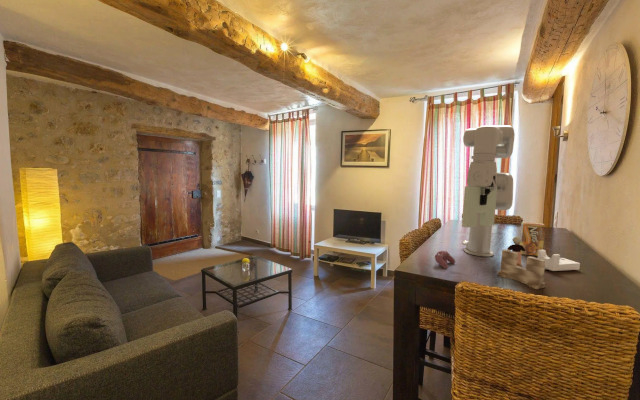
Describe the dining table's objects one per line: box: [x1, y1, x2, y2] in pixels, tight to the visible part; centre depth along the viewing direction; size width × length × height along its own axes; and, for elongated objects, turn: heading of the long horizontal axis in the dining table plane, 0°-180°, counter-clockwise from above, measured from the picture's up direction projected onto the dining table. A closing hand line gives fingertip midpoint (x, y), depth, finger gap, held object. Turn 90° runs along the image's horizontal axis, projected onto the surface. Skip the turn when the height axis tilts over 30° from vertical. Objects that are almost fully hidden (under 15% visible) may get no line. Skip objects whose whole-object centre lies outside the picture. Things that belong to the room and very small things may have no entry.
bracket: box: [537, 249, 581, 272], centre depth 120 cm, size 13×7×8 cm, turn 100°
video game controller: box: [434, 250, 456, 269], centre depth 124 cm, size 10×5×7 cm, turn 135°
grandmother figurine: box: [506, 235, 527, 267], centre depth 124 cm, size 8×4×13 cm, turn 86°
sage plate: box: [461, 185, 497, 228], centre depth 116 cm, size 2×16×16 cm, turn 113°
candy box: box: [519, 221, 546, 257], centre depth 139 cm, size 9×4×15 cm, turn 68°
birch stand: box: [497, 249, 546, 290], centre depth 107 cm, size 14×5×10 cm, turn 24°
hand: (480, 204), depth 116 cm, fingers closed on sage plate, 1 cm apart
